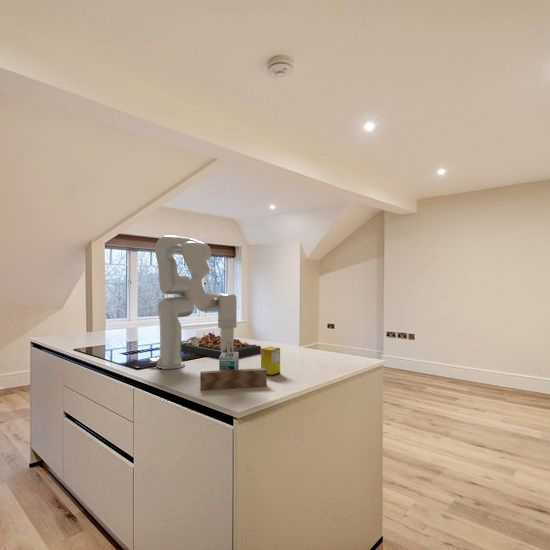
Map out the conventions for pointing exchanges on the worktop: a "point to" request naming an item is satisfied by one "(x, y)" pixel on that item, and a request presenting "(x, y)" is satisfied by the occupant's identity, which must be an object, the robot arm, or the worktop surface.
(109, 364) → the worktop surface
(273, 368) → the supplement box
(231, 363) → the light bulb box
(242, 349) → the food platter
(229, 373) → the walnut board
